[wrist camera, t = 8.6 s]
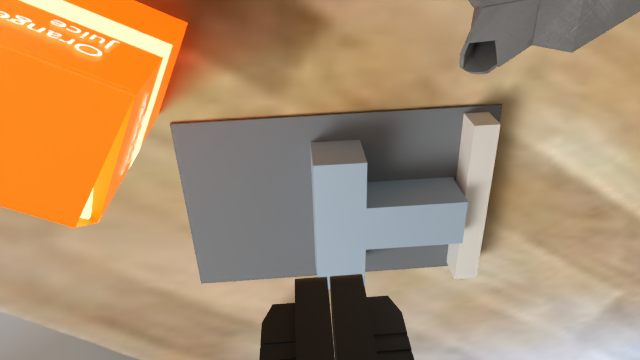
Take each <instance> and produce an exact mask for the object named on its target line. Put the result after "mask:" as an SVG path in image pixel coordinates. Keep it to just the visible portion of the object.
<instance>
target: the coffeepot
mask: <svg viewBox="0 0 640 360" xmlns="http://www.w3.org/2000/svg"><path fill="white" fill-rule="evenodd" d="M469 2H470V3H471V5H472V6H473V7H474V13H473V19H472V25H471V30H470V32H469V35H468V37H467V39H466V42H465V44H464V46H463V49H462V51H461V53H460V67H461V68H463V69H464V70H465V71H467V72H469V73H472V74H486V73H489V72H490V71H492V70H493V69H494V68H496V67H497V66H498V67H500V66H501V65H503V64H504V63H506V62H507V61H509V60H510V59H512V58H513V57H515V56H516V55H518V54H519V53H521V52H522V51H524V50H525V49H527V48H528V47H530V46H531V45H534V46H540V47H545V48H550V49H556V50H561V51H567V52H574V51H575V50H577V49H579V48H580V47H582V46H583V45H585V44H587V43H588V42H590V41H592V40H593V39H595V38H597V37H598V36H600V35H601V34H603V33H605V32H606V31H608V30H610V29H611V28H613V27H615V26H616V25H618V24H619V23H621V22H623V21H624V20H626V19H628V18H629V17H631V16H633V15H634V14H636V13H638V12H639V11H640V0H469Z"/></svg>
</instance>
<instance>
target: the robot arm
mask: <svg viewBox="0 0 640 360" xmlns="http://www.w3.org/2000/svg"><path fill="white" fill-rule="evenodd" d="M330 292H331V309H332V324H331V313H330V303H329V292H328V281H327V277H316V278H303V279H295V303H287V304H274V305H272V307H271V308H270V310H269V312H268V314H267V315H266V317H265V319H264V320H263V322H262V330H261V348H260V360H414V357H413V354H412V352H411V346H410V342H409V338H408V336H407V331H406V327H405V323H404V319H403V316H402V312H401V311H400V310H399V309H398V307H397V306H396V305H395V304H394V303H393V301H392V300H391V299H390V298H389V297H388V296H378V297H366V292H365V287H364V281H363V277H362V274H354V275H341V276H330ZM332 326H333V335H332ZM333 340H334V345H333ZM334 352H335V356H334Z"/></svg>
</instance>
